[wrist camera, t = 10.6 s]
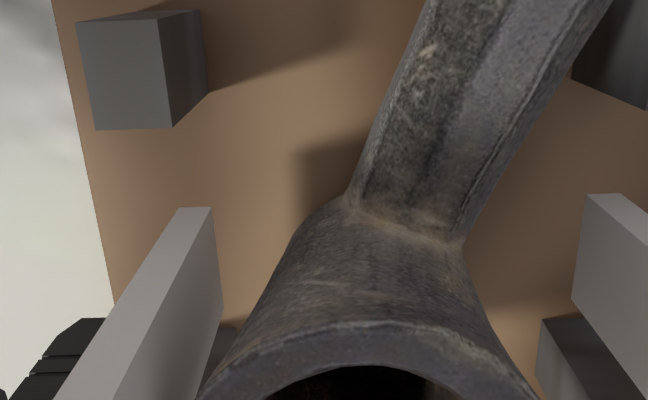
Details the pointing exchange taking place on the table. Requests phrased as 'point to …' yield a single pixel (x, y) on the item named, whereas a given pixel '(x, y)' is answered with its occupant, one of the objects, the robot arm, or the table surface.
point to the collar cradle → (343, 153)
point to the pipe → (412, 222)
